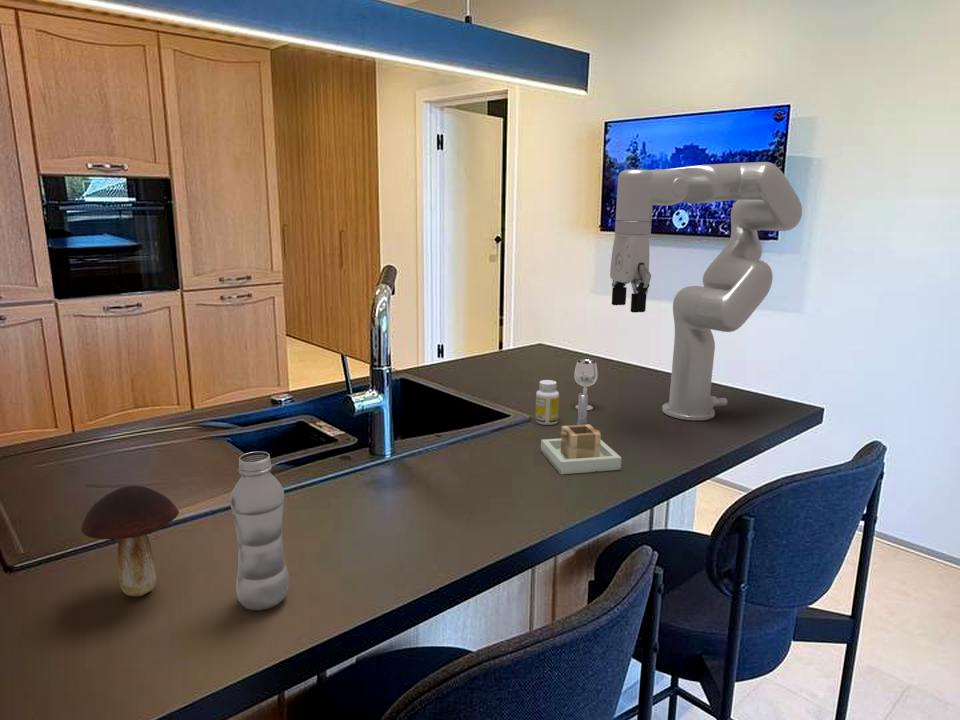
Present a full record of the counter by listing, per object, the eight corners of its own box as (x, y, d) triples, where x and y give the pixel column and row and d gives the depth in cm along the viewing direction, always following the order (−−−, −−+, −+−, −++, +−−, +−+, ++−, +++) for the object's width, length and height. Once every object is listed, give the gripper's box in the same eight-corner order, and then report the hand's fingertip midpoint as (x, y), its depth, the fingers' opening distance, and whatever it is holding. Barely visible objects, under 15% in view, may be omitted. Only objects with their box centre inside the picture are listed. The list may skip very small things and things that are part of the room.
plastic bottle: (225, 610, 84) (213, 462, 80) (260, 582, 90) (251, 444, 86) (267, 622, 82) (257, 471, 77) (300, 593, 88) (293, 451, 83)
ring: (556, 452, 137) (557, 426, 135) (592, 449, 138) (594, 424, 137) (565, 463, 131) (567, 436, 130) (603, 460, 133) (605, 433, 131)
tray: (596, 447, 142) (596, 436, 142) (620, 469, 130) (621, 457, 130) (540, 450, 139) (541, 439, 139) (560, 474, 128) (561, 462, 127)
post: (583, 436, 149) (585, 393, 146) (586, 439, 147) (589, 395, 144) (575, 436, 148) (577, 393, 146) (578, 439, 146) (580, 396, 144)
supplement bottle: (557, 418, 160) (559, 379, 158) (558, 426, 155) (560, 385, 153) (535, 417, 161) (536, 378, 158) (534, 425, 155) (536, 384, 153)
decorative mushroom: (137, 565, 94) (126, 466, 91) (203, 579, 91) (193, 476, 87) (71, 609, 84) (55, 500, 80) (142, 626, 81) (128, 513, 77)
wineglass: (600, 408, 168) (603, 362, 166) (583, 412, 165) (586, 365, 162) (584, 402, 173) (587, 358, 170) (568, 406, 170) (570, 360, 167)
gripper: (600, 227, 150) (596, 302, 154) (634, 231, 134) (629, 315, 138) (631, 227, 152) (626, 302, 156) (668, 231, 135) (662, 314, 140)
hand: (627, 308), depth 147 cm, fingers open, 9 cm apart
